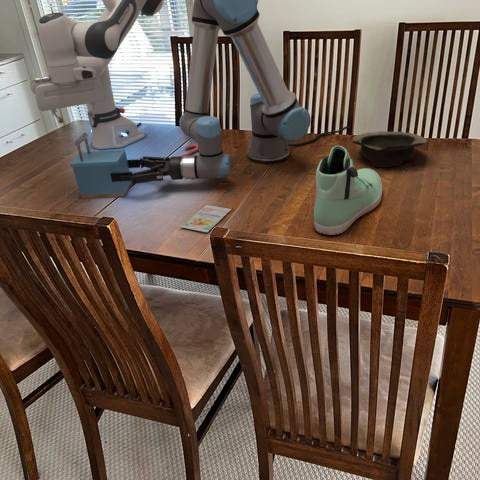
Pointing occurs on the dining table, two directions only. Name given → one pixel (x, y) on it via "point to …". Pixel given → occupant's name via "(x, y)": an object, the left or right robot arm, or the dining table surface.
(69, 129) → the dining table surface
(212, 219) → the baking ingredient package
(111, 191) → the chest
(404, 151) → the stone bowl
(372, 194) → the sneaker
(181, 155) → the candy cane
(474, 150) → the dining table surface
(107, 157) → the lid
